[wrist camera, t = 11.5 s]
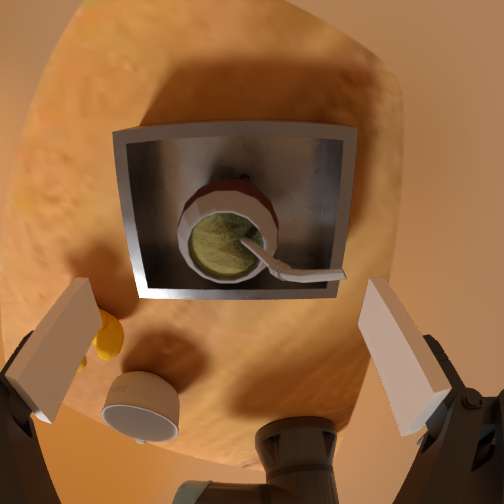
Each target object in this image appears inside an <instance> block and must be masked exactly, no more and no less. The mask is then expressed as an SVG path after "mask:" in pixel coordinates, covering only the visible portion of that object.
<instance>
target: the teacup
mask: <svg viewBox="0 0 504 504" xmlns="http://www.w3.org/2000/svg"><path fill="white" fill-rule="evenodd" d="M179 410H180V403H179V397H178V395H177V392H176V391H175V389H174V388H173V387H172V386H171V385H170V384H169V383H168V382H166V381H165V380H164V379H163V378H161V377H160V376H158V375H156V374H153V373H150V372H145V371H134V372H128V373H124V374H122V375H120V376H118V377H117V378H116V379H115V380H114V382H113V383H112V385H111V387H110V390H109V392H108V395H107V398H106V401H105V405H104V408H103V409H102V411H101V412H102V413H101V414H102V418H103V419H104V421H105V422H106V423H107V424H108V425H109V426H110V427H111V428H113V429H114V430H116V431H118V432H120V433H121V434H124V435H126V436H129V437H132V438H134V439H136V442H137V443H140V444H144V443H145V442H146V441H149V442H165V441H169V440H172V439H174V438H175V437H177V436H178V434H179V428H178V425H179Z"/></svg>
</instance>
